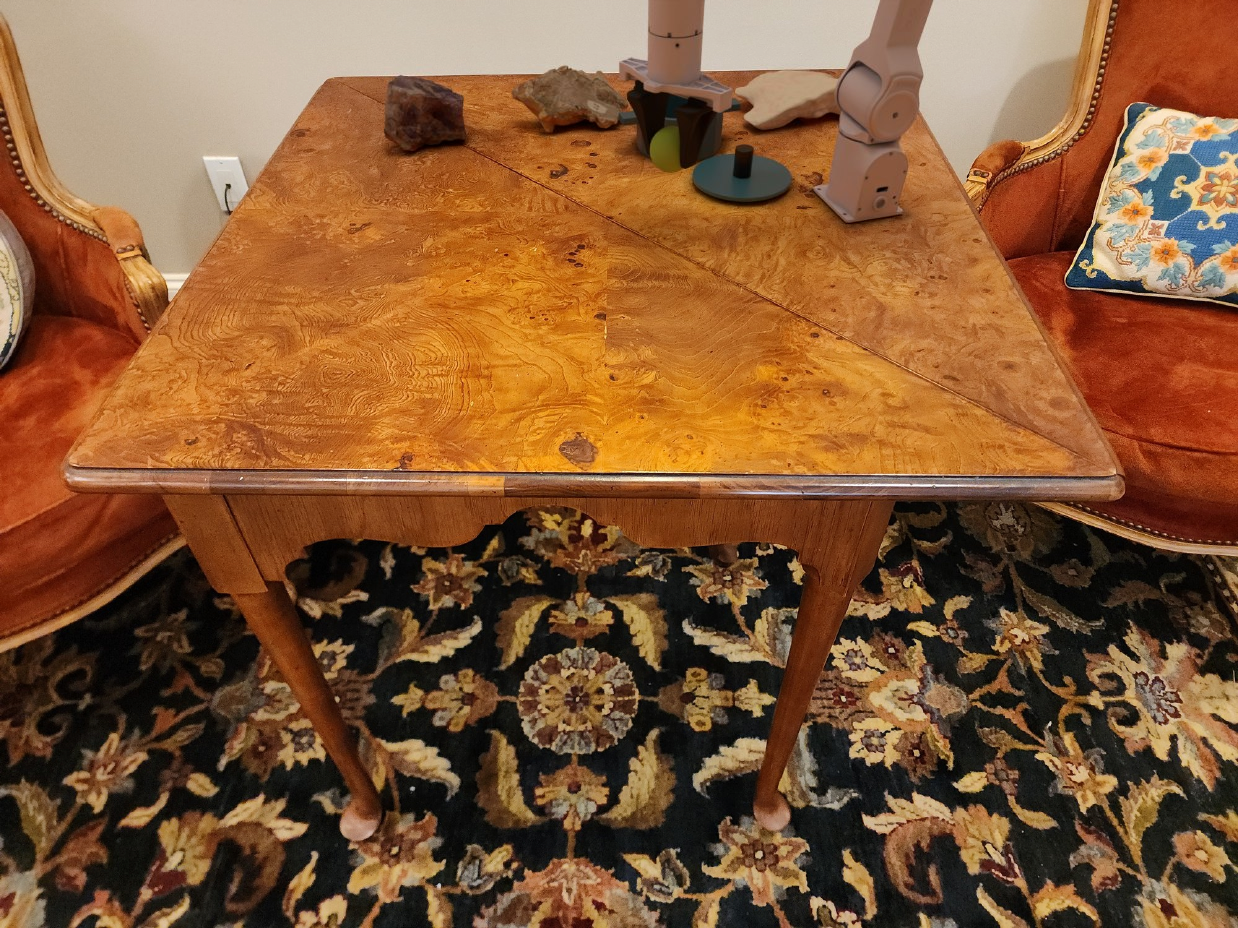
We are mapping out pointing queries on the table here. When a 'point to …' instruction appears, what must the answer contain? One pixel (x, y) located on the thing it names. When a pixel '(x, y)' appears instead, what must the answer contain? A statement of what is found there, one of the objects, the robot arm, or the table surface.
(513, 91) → the mineral specimen
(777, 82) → the decorative stone
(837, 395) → the table surface
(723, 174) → the lid
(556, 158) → the table surface
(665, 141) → the ball
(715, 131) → the pot
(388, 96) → the rock
